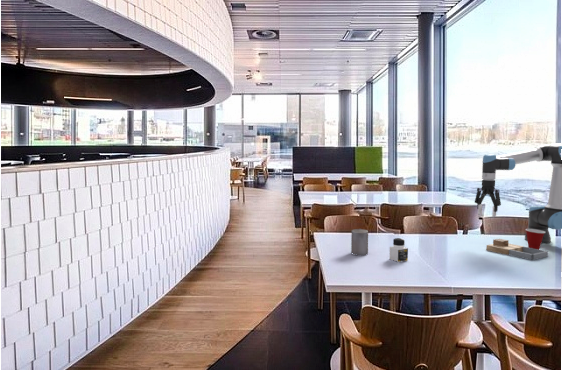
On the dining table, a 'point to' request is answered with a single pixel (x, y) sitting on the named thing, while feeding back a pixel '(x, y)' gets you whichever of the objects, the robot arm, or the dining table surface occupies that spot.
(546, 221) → the robot arm
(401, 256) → the medicine bottle
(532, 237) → the plastic cup
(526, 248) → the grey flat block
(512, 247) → the board
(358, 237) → the pillar candle
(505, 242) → the brown square block
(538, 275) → the dining table surface
